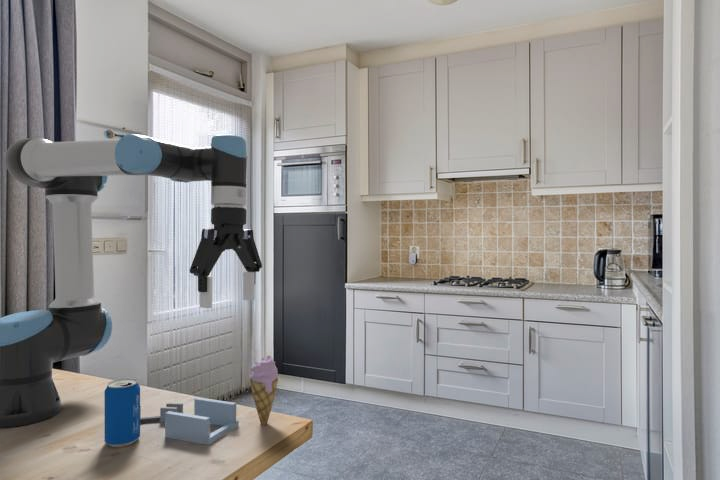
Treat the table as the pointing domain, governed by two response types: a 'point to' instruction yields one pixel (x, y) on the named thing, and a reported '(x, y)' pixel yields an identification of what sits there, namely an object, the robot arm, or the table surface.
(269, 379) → the ice cream cone
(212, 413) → the end holder
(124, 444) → the beverage can
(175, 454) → the table surface
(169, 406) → the clip
